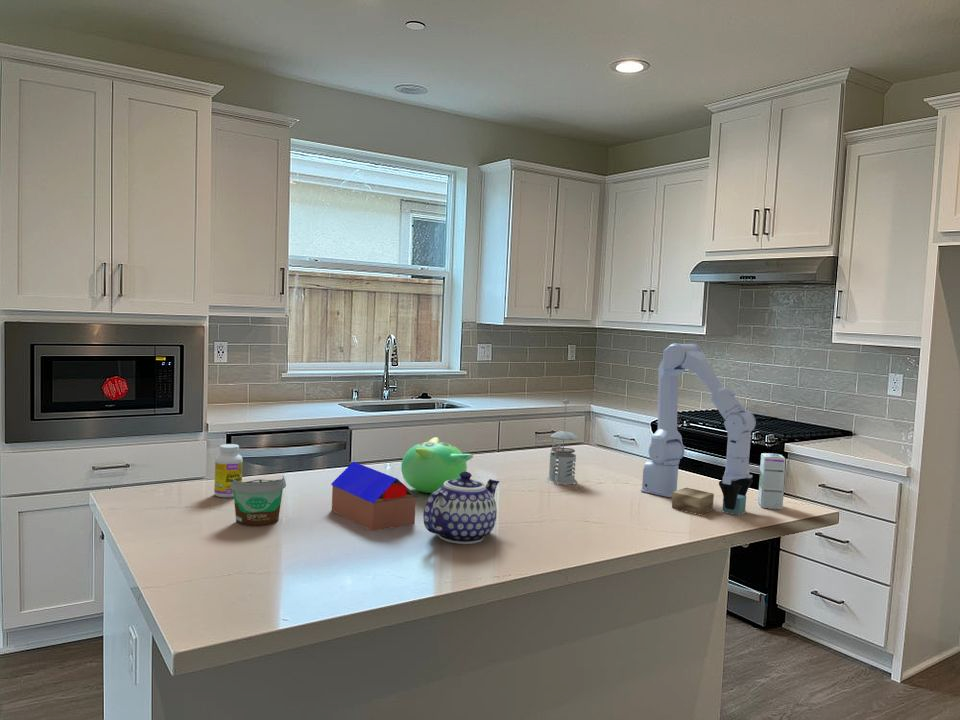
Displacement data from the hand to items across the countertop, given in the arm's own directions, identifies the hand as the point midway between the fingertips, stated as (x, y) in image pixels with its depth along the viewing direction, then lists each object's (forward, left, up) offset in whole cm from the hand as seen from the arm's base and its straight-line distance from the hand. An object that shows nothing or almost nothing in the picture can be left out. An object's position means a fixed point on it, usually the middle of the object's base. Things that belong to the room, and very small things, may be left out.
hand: (734, 506), depth 194 cm
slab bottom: (-9, -6, -2) cm, 11 cm away
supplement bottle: (-98, -90, -2) cm, 133 cm away
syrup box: (+5, +14, -2) cm, 15 cm away
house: (-60, -75, -2) cm, 96 cm away
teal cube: (0, 0, -2) cm, 2 cm away
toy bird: (-66, -47, -2) cm, 81 cm away
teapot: (-35, -71, -2) cm, 79 cm away
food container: (-72, -98, -2) cm, 122 cm away
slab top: (-9, -6, 0) cm, 11 cm away
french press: (-50, -8, -2) cm, 51 cm away
